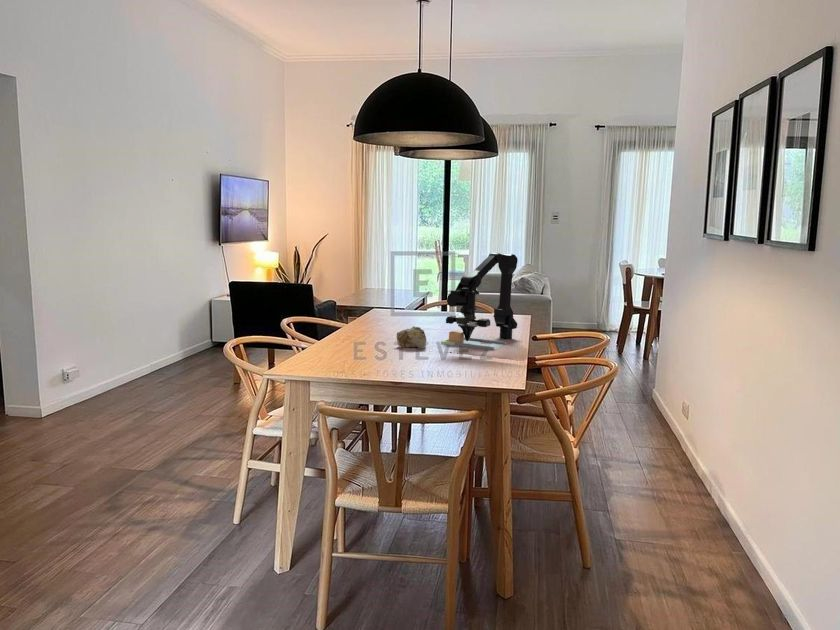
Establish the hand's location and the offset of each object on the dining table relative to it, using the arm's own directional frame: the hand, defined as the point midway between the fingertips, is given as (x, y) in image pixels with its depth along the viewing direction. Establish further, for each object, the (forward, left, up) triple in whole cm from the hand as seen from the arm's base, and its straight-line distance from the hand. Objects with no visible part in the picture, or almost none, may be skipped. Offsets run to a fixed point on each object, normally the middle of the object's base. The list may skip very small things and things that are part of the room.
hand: (467, 340), depth 272 cm
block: (+1, -5, -1) cm, 5 cm away
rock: (+14, -20, -3) cm, 24 cm away
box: (0, +3, -2) cm, 4 cm away
